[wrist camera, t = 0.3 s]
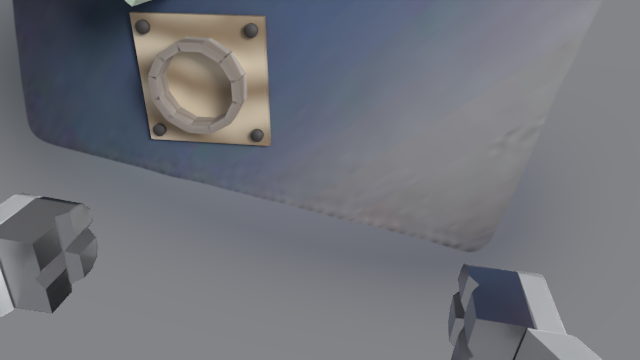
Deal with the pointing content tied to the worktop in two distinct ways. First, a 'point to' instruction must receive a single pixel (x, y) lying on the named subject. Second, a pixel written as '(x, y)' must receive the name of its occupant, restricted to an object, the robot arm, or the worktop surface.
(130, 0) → the green peg
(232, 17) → the bolt socket plate
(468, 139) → the worktop surface
